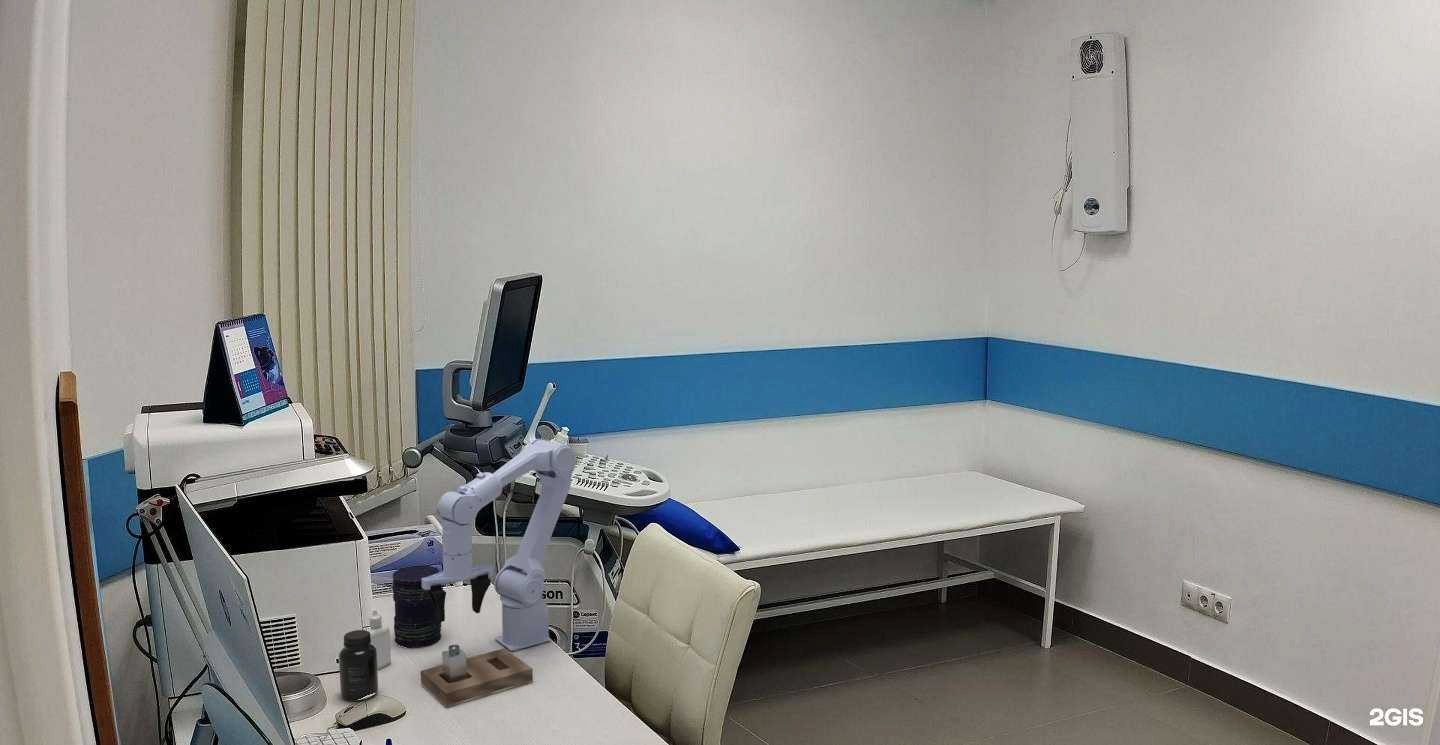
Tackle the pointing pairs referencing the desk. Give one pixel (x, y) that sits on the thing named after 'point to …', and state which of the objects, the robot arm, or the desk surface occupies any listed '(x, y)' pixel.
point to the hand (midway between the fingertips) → (458, 615)
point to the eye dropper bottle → (380, 640)
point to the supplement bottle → (358, 666)
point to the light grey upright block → (454, 664)
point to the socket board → (478, 678)
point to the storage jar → (414, 608)
